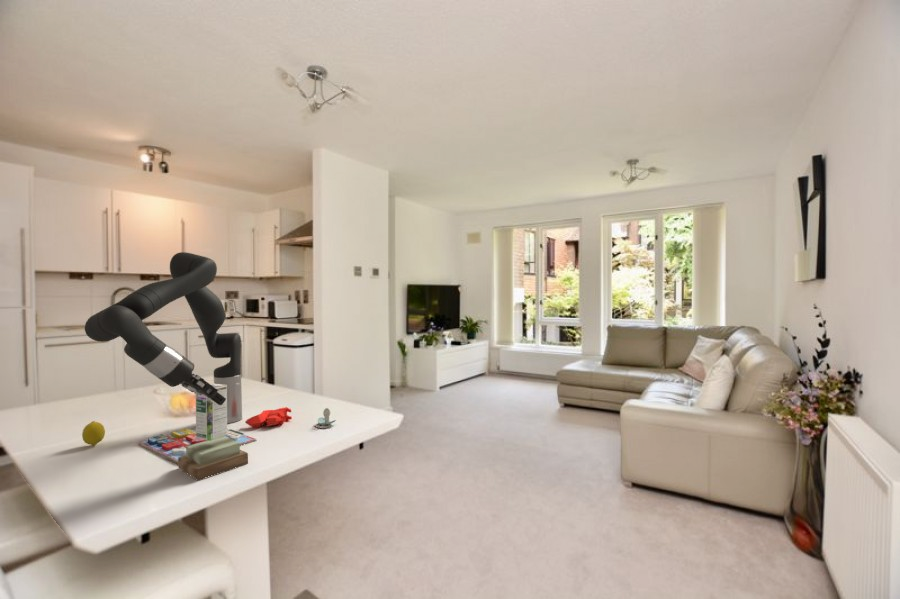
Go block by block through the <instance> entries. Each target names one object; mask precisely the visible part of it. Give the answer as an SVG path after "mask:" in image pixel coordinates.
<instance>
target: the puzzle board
mask: <svg viewBox="0 0 900 599" xmlns="http://www.w3.org/2000/svg"><path fill="white" fill-rule="evenodd" d="M224 436H225V437H227V438H229V439H232V440H234V441H236V442H238V443H240V447H242V446H244V444H245V445H248V444H252V443H255V442H256V441H257V438H255V437H252V436H249V435H246V434H245V433H243V432H240V431H238V430H234V429H228V428H227V435H224ZM204 441H207V440H203V439H196V427H194V428H181V429H177V430H173V431H171V433H169V434H165V435H164V434H162V433H161V434H158V435H154V436H152V437H149V438H147V439H145V440H141V441H138V445H139V446H142V447H143V448H145V449H147V450H149V451H151V452H153V453H155V454H157V455H158V456H161V457H163V458H164V459H167V460H169V461H171V462H173V463H175V464H176V465H178V457H182V456H185V455H186V446H189V445H193V444H196V443H200V442H204ZM241 445H242V446H241Z"/></svg>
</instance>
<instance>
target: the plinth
mask: <svg viewBox="0 0 900 599" xmlns="http://www.w3.org/2000/svg"><path fill="white" fill-rule="evenodd" d="M247 464H249V453H248V452H246V451H245V450H242V449H241V446H240V443H238V442H236V441H234V440H232V439H229V438H227V437H225V436H222V437H219V438H217V439H214V440H211V441H208V440H207V441H204V442H200V443H196V444H193V445H189V446H186V455H185V456H182V457H178V464H177V465H178V466H177V467H178V469H179V470H181V471H182V472H183V473H185V472H186V473H185V474H187V473H188V474H189V475H188V474H187V475H188V476H190V475H191V476H192V478H193V477H194V478H193V479H195V478H196V479H197V480H196V479H195V480H196V481H198V480H199V481H201V480H200V479H202V480H204V479H203V478H205V477H207V478H209V477H208V476H210V477H212V476H211V475H213V476H215V475H214V474H216V475H218V474H217V473H219V474H221V473H220V472H222V473H224V472H223V471H225V472H227V470H228V471H230V469H231V470H233V468H234V469H236V468H235V467H237V468H239V466H240V467H242V466H245V465H247ZM191 476H190V477H191ZM205 479H206V478H205Z"/></svg>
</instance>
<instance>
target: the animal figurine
mask: <svg viewBox="0 0 900 599" xmlns="http://www.w3.org/2000/svg"><path fill="white" fill-rule="evenodd" d="M288 413H292V409H291V408H289V407H287V406H285V407H281V408H280V407H279V408H276V409H268V410H267V409H265V410H263V411H262V412H261V413H259V414H257V415H253V416H252V417H250V418H247V419H246V420H245V422H244V423H245V424H246V425H248V426H250V427H252V428H255V429H259V428H261V427H263V425H264V424H265V423H266V424H267V425H265V427H270V426H277V425H282V424H284V423H286V421H287V420H288V421H289V420H292V418H293V417H292V416H290V415H288Z"/></svg>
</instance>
